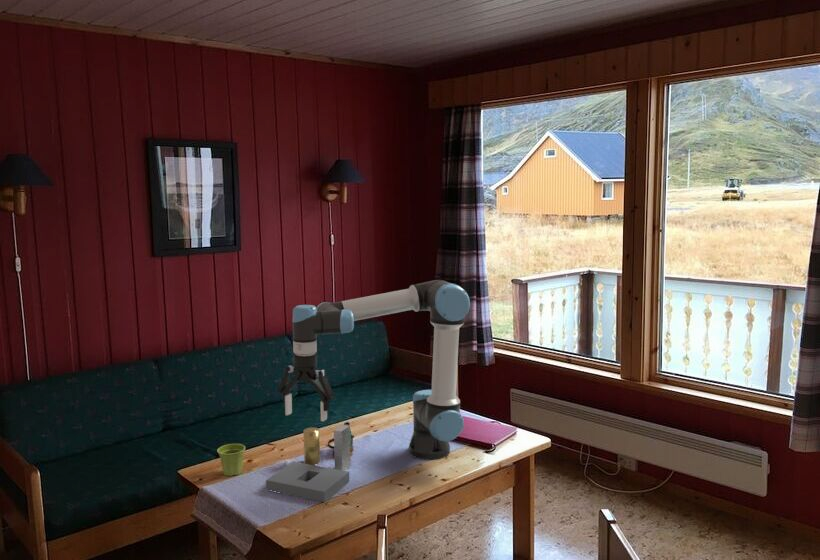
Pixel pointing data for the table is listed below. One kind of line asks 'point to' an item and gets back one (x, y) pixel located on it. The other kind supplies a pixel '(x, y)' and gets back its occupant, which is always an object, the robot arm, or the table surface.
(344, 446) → the aluminium bar
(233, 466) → the plant pot
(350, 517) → the table surface
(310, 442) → the brass peg
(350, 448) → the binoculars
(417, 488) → the table surface
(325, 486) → the slot plate
